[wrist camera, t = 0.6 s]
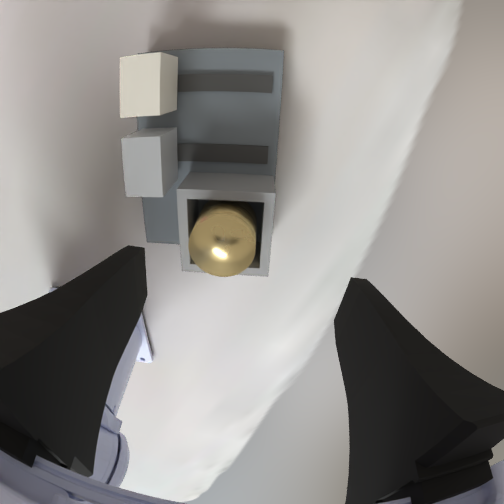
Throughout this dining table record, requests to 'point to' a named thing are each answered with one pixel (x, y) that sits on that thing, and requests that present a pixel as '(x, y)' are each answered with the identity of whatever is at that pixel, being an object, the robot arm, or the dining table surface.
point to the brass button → (224, 237)
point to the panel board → (220, 144)
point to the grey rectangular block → (150, 162)
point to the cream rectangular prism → (148, 84)
